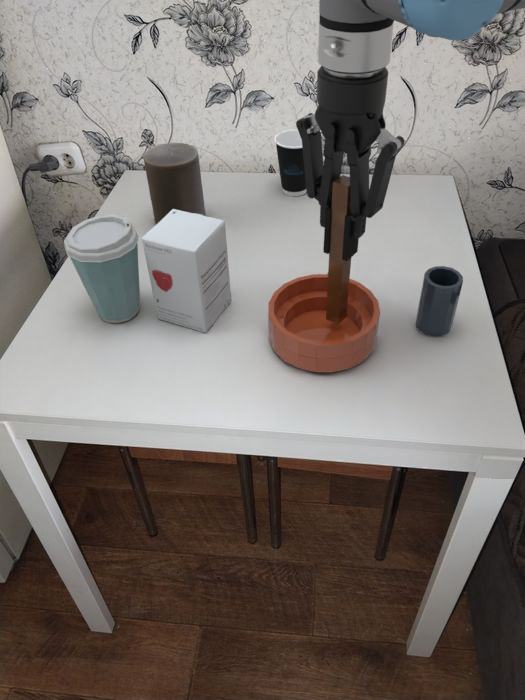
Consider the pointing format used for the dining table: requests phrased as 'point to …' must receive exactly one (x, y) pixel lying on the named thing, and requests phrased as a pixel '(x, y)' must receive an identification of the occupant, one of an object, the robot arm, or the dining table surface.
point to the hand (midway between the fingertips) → (340, 251)
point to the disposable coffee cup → (107, 264)
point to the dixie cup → (291, 162)
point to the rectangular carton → (188, 269)
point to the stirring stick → (338, 253)
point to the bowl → (321, 325)
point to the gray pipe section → (438, 300)
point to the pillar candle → (174, 179)
